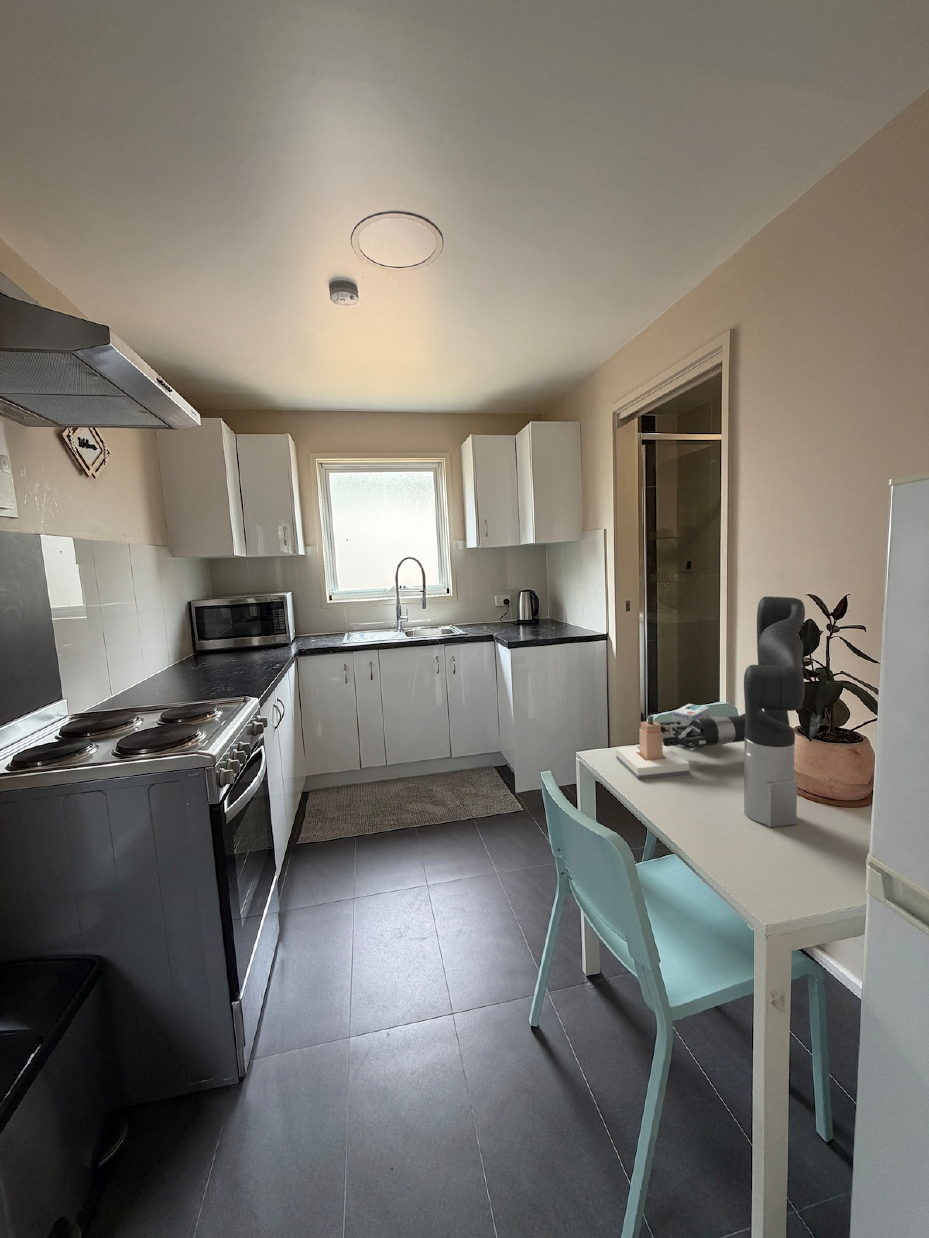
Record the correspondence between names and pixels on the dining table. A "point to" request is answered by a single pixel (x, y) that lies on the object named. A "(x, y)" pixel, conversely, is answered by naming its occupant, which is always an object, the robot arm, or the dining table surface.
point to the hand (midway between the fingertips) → (656, 736)
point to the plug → (651, 740)
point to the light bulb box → (690, 714)
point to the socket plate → (652, 763)
